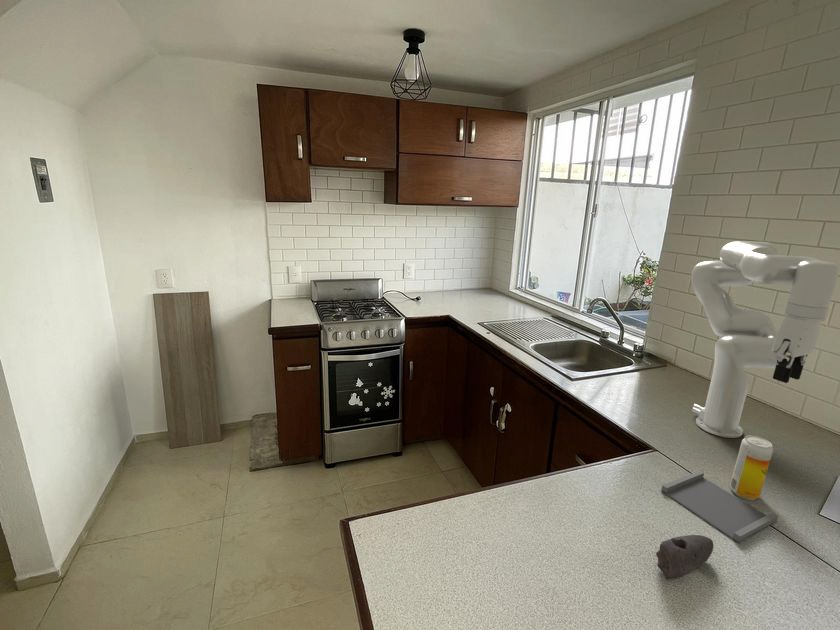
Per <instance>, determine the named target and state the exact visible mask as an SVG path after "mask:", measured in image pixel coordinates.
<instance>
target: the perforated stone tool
mask: <svg viewBox="0 0 840 630" xmlns="http://www.w3.org/2000/svg"><path fill="white" fill-rule="evenodd" d="M713 551H714V542H713V540H712V539H711V538H709V537H708V536H705V535H700V534H691V535H681V536H675V537H670V538H669V539H667V540H666V539H665V540H664V541H662V542H661V543H660V544H659V549H658V551H656V553H655V555H656V558H657V564H656V565H657V567H658V569H660V571H661V572H662V574H663V576H664V578H665V579H666V580H668V581H672V580H675V579H680V578H682V577H685V576H686V575H688V574H690V573H692V572H693V571H695V570H697V569H698V568H699V567H701V566H702V565H703V564H704V563H706V562H707V561H708V560H709V558H710V557H711V555H712V553H713Z"/></svg>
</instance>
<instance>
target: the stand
mask: <svg viewBox="0 0 840 630" xmlns="http://www.w3.org/2000/svg"><path fill="white" fill-rule="evenodd" d="M660 492H662V493H664V494H665V495H666V496H667V497H669V498H670V499H672V500H674V501H675V502H677V504H680V505H681V506H683V507H684V508H686V510H688V511H690V512H691V513H693V514H695V515H696V516H697V517H698V518H700V519H701V520H703V521H704V522H706V523H707V524H708V525H710V526H712V527H714V528H715V529H716V530H717V531H719V532H721V533H722V534H724V535H725V536H726V537H728V538H729V539H730V540H733V542H735V543H737V544H739V543H742V542H743V541H746V540H747V539H749V538H750V537H752V536H754V535H756V534H757V533H760V532H761V531H763V530H765V529H767V528H768V527H771V526H773V525H774V524H776V523H777V521H778V519H779V515H778V514H776V513H774V512H771V513H769V514H766V513H764V512H763V511H761V510H760V509H757V508H756V507H754V506H753V505H751V504H750V503H748V502H746V501H744V500H743V499H741V498H739V497H738V496H737V495H734V494H732V493H730V492H729V491H727V490H726V489H724V488H722V487H720V486H719V485H716V484H715V483H714V482H712V481H710V480H708V479H706V478H705V472H704V471H702V470H696V471H694V472H692V473H689V474H686V475H684V476H682V477H680V478H677V479H674V480H672V481H669V482H666V483H664V484H662V485H661V490H660Z"/></svg>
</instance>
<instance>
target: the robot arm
mask: <svg viewBox="0 0 840 630" xmlns="http://www.w3.org/2000/svg"><path fill="white" fill-rule="evenodd" d="M719 259H720V260H706V261H701V262H699V263H697V264H696V265H694V267H693V269H692V271H691V286H692V289H693V291H694V293H695V296H696V298H697V299H698V300H699V302H700V303H701V305H702V306H703V308H704V313H705V314H706V317H707V321H708V322H709V325H710V327H711V331H712V332H713V333H714V334H715V335H716V336H718V337H719V338H718V340H716V342H715V346H714V363H713V364H714V365H713V370H712V375H711V380H710V382H709V383H710V384H709V388H708V392H707V397H706V401H705V404H704V405H705V406H704V407H703V406H702V405H699V404H697V403H694V404H693V405H692V409H691V412H692V413H693V412H694V413H696V414H698V416H697V417H696V418H695V423H696V425H697V427H699V428H701V429H702V430H703V431H705V432H706V433H709V434H712V435H715V436H719V437H722V438H727V439H736V438H737V439H738V438H740V437H742V435H743V433H744V430H743V428H742V427H741V426H740V425H739V424H740V420H741V416H742V412H743V409H744V406H745V405H744V404H745V401H746V399H747V394H748V392H749V391H748V389H749V385H750V378H749V376H748V374H747V373H746V371H745V368H759V369H774V371H773V375H772V378H773V380H776V381H778V382H781V383H784V384H787V383H789V381H790V378H791V379H794V380H796V381H797V380H800V379H801V376H802V373H803V369H804V365H805V363H806V361H807V358H808V354H811V353H812V352H813V351H814V349H815V348H816V344H817V341H818V336H819V332H820V328H821V323H822V322H823V321H825V320H826V317H827V314H828V311H829V307H830V305H831V304H830V303H831V300H832V296H833V294H834V291H835V287H836V284H837V281H838V278H839V274H840V265H839V264H837V263H835V262H832V261H831V262H830V261H823V260H820V259H819V258H817V257H813V256H805V255H804V256H802V255H799V256H798V255H782V254H781V255H779V251H778V248H777V247H776V245H774V244H773V243H771V242H769V241H768V242H767V241H749V240H747V241H746V240H735V241H731V242H729V243H727V244H725V245H724V246H723V247H722V248H721V250H720V251H719ZM754 282H755V283H758V284H764V285H784V286H791V288H790V292H789V296H788V299H787V303H786V306H785V310H784V317H783V318H782V320H781V323H780V325H779V328H778V331H777V328H776V325H775V324H774V322H773V320H772V319H771V317H770V316H769V315H768V314H767V313H765V312H763V311H761V310H755V309H745V308H744V309H742V308H739V307H738V306H737V304H736V303H735V301H734V298H733V297H732V296H731V294H729V293H728V292H727V291H726V290H724V289H723V288H722V287H736V288H739V287H740V288H742V287H747V286H750V285H752V284H753V283H754ZM720 286H721V287H720ZM787 353H788V354H787ZM787 358H788V359H787Z"/></svg>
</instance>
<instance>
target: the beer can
mask: <svg viewBox="0 0 840 630" xmlns="http://www.w3.org/2000/svg"><path fill="white" fill-rule="evenodd" d="M773 454H774V448H773V444H772V443H771V441H769V440H767V439H766V438H763V437H761V436H757V435H751V434H750V435H746V436H744V438H743V439H741V443H740V447H739V450H738V454H737V458H736V462H735V464H734V465H735V466H734V469H733V473H732V477H731V480H730V484H729V487H730V489H731V491H732V493H734V494H735V496H737V497H738V498H739V497H740V499H741V498H742V499H744V500H748V501H754V500H756V499H759V498H760V497H761V493H762V490H763V486H764V483H765V480H766V476H767V473H768V469H769V466H770V463H771V459H772V455H773Z"/></svg>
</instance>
